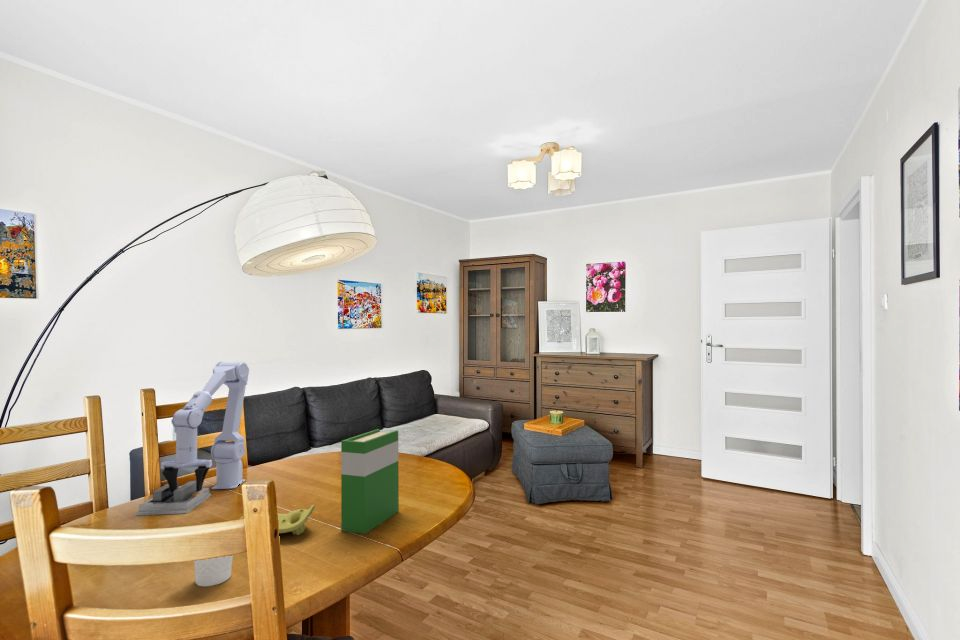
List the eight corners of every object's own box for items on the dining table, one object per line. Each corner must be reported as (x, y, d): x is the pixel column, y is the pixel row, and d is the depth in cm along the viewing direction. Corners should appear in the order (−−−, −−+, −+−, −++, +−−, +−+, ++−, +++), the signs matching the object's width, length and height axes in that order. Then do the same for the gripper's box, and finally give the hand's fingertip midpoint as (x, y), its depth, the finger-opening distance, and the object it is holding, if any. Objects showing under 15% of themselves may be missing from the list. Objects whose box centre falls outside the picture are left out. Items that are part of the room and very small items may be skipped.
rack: (166, 498, 159) (166, 479, 159) (210, 496, 160) (211, 477, 160) (136, 515, 143) (137, 495, 143) (186, 513, 144) (186, 493, 144)
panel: (189, 496, 157) (190, 481, 157) (197, 496, 157) (198, 480, 157) (173, 507, 147) (173, 490, 147) (182, 506, 147) (182, 490, 147)
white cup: (194, 592, 99) (195, 542, 99) (190, 577, 105) (191, 530, 105) (236, 580, 103) (237, 533, 104) (230, 566, 110) (231, 522, 110)
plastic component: (231, 529, 126) (254, 500, 135) (242, 549, 129) (263, 520, 138) (298, 529, 121) (317, 500, 130) (307, 550, 124) (325, 520, 133)
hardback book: (377, 508, 147) (377, 429, 148) (398, 511, 144) (398, 430, 145) (341, 530, 130) (341, 440, 131) (364, 533, 127) (364, 442, 128)
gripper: (155, 451, 148) (154, 495, 147) (204, 449, 149) (204, 493, 149) (167, 446, 155) (167, 488, 154) (215, 444, 156) (214, 486, 156)
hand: (186, 490), depth 152 cm, fingers open, 7 cm apart
